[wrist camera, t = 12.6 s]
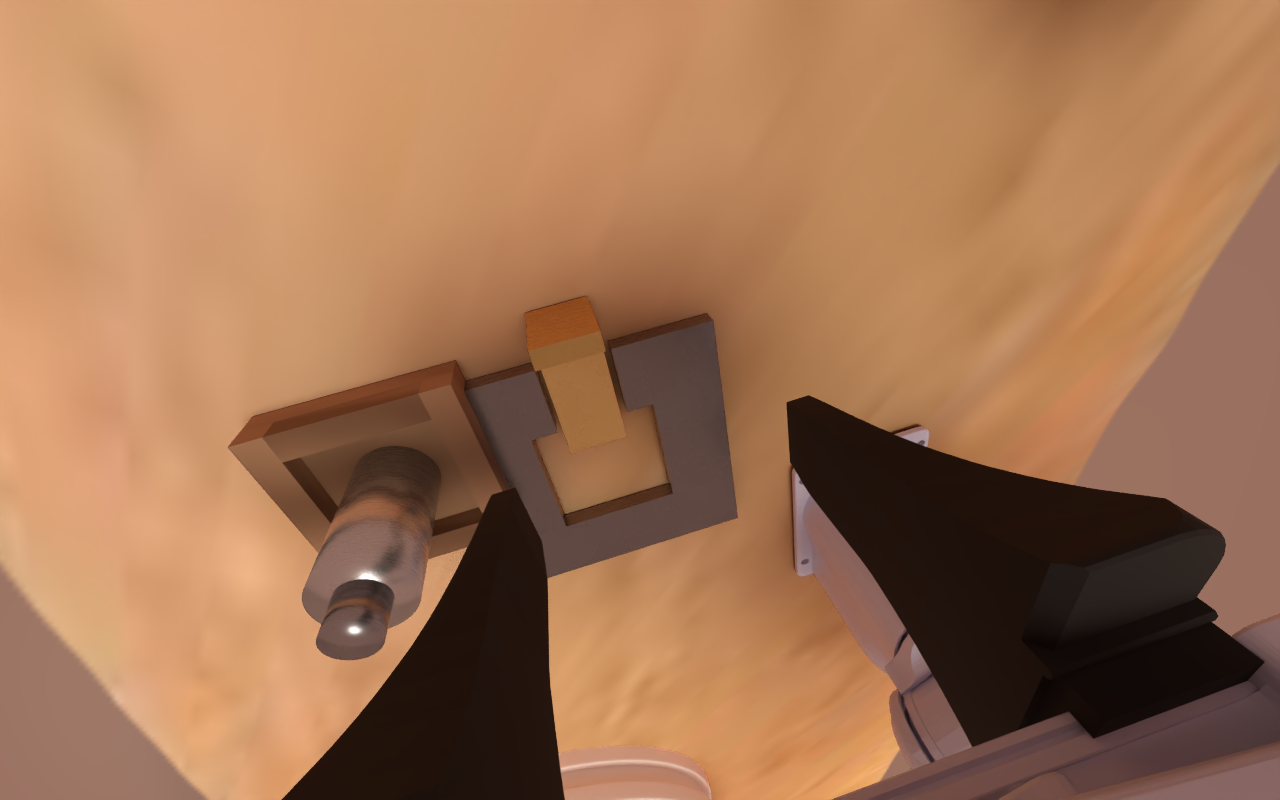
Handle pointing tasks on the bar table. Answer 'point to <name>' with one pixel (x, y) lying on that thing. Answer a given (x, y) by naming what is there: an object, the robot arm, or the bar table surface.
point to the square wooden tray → (364, 421)
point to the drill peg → (374, 552)
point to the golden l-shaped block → (575, 372)
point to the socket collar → (648, 375)
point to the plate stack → (631, 774)
